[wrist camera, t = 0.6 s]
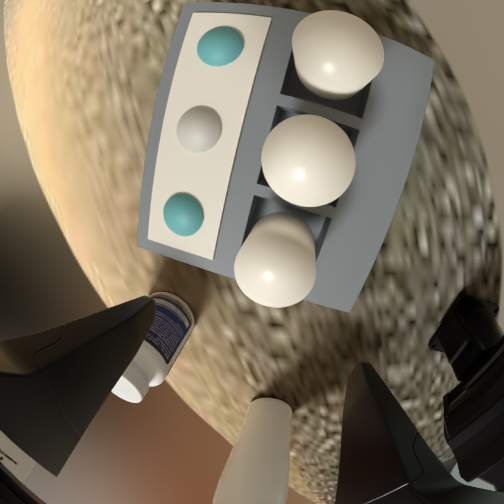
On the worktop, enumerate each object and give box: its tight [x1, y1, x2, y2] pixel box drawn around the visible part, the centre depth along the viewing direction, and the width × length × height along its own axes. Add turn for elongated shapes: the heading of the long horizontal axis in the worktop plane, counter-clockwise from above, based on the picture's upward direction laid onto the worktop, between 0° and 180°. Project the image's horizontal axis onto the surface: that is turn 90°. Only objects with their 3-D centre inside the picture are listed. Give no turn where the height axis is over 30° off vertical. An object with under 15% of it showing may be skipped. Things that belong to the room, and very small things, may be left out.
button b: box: [261, 114, 356, 207], centre depth 12 cm, size 4×4×4 cm
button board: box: [137, 2, 435, 313], centre depth 16 cm, size 16×18×3 cm
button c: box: [234, 212, 316, 307], centre depth 15 cm, size 4×4×4 cm
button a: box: [292, 10, 384, 100], centre depth 10 cm, size 4×4×4 cm
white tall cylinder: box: [212, 398, 292, 504], centre depth 22 cm, size 7×7×15 cm
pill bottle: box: [112, 292, 194, 403], centre depth 21 cm, size 5×5×10 cm
